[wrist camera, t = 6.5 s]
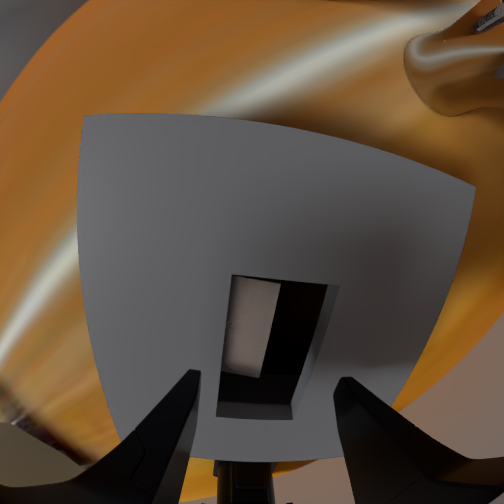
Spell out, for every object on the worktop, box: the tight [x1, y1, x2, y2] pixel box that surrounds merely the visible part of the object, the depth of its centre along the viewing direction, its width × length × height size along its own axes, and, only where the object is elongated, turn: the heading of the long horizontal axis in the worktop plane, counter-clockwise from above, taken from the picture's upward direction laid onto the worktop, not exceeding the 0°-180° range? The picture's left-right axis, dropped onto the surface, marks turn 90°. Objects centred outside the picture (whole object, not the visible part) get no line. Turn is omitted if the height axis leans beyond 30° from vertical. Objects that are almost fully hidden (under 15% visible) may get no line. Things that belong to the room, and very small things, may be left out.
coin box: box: [77, 113, 476, 462], centre depth 13 cm, size 16×14×7 cm
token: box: [221, 274, 281, 378], centre depth 14 cm, size 5×2×5 cm, turn 171°
